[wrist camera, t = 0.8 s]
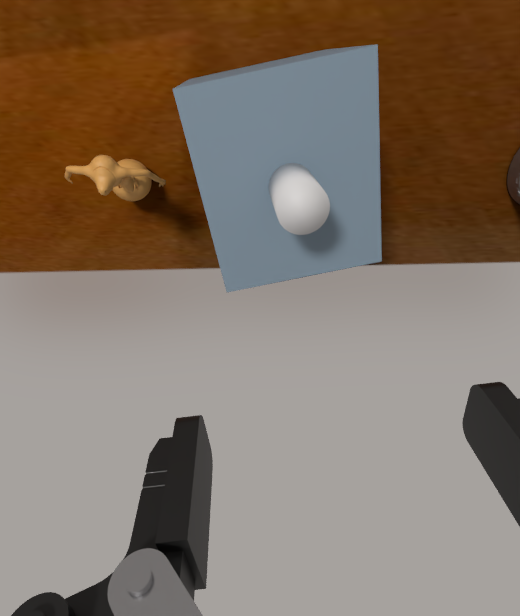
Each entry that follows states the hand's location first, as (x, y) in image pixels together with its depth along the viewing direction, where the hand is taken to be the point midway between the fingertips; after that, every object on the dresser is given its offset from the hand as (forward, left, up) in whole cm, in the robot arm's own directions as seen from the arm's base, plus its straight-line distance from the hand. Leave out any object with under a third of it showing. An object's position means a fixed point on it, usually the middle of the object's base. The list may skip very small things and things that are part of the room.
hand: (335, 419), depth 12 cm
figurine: (+12, -2, -35) cm, 37 cm away
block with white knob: (-2, -1, -35) cm, 35 cm away
